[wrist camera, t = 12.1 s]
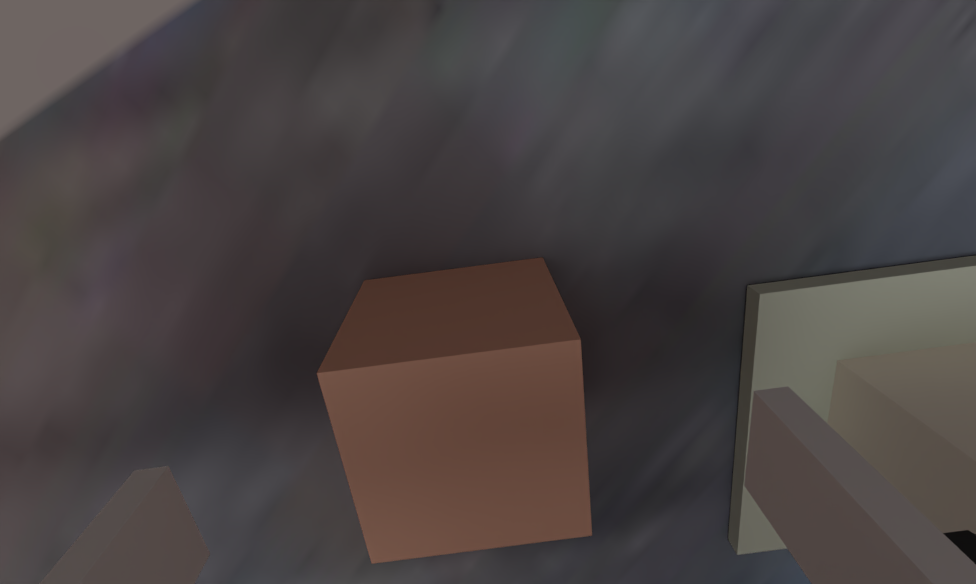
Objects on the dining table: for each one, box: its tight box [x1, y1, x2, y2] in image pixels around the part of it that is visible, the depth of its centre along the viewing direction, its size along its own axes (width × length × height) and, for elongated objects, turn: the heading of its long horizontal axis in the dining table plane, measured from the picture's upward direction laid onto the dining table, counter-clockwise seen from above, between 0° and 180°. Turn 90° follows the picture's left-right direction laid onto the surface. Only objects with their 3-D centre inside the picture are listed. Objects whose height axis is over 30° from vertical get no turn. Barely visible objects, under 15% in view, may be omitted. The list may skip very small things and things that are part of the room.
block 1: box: [317, 257, 592, 564], centre depth 15 cm, size 6×6×6 cm
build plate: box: [728, 255, 976, 555], centre depth 19 cm, size 12×12×1 cm
